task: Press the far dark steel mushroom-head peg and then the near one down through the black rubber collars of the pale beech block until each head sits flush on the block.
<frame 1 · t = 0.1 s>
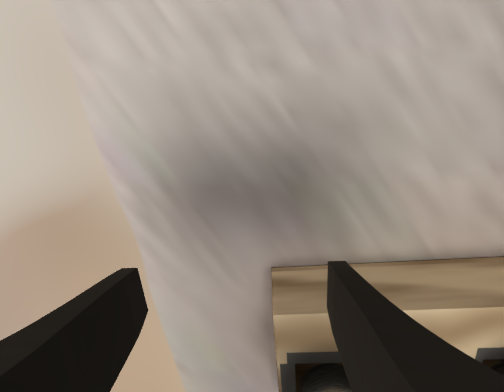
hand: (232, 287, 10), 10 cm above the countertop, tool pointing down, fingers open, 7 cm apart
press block: (388, 327, 23), on the countertop
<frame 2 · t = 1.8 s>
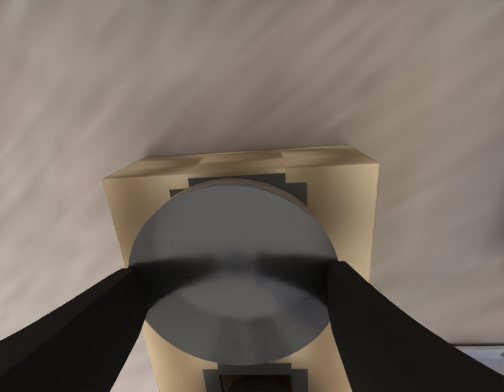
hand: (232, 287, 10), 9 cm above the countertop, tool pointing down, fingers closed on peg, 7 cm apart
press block: (254, 276, 21), on the countertop
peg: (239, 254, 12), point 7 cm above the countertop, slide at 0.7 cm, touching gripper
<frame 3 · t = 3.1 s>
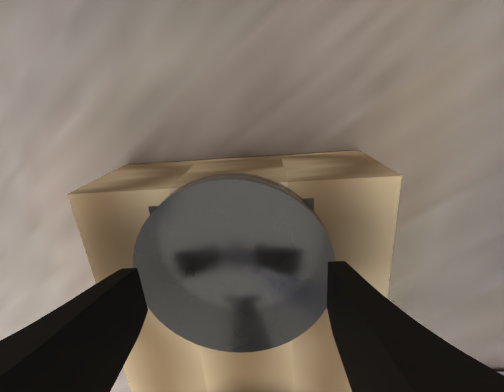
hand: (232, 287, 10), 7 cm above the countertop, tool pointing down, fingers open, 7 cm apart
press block: (251, 296, 18), on the countertop
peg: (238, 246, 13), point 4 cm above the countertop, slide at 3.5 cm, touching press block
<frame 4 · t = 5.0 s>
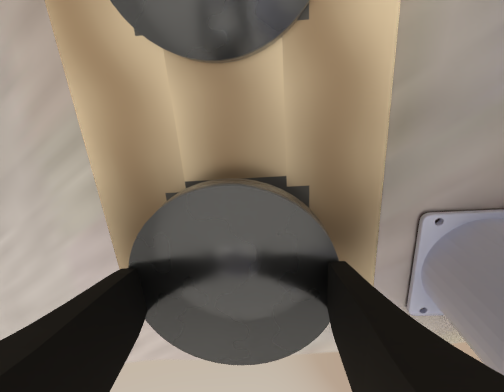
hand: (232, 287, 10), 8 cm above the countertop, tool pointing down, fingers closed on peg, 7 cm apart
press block: (239, 110, 16), on the countertop
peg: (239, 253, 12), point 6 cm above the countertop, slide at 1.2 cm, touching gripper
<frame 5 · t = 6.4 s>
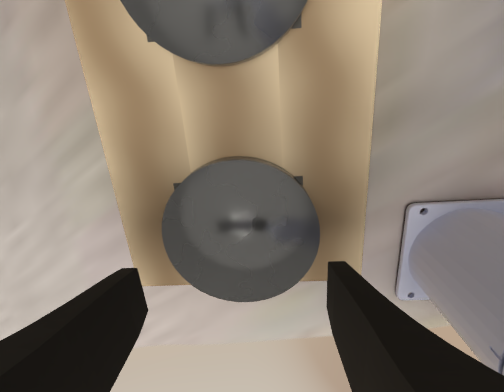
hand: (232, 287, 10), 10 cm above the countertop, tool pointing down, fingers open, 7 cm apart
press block: (239, 108, 17), on the countertop
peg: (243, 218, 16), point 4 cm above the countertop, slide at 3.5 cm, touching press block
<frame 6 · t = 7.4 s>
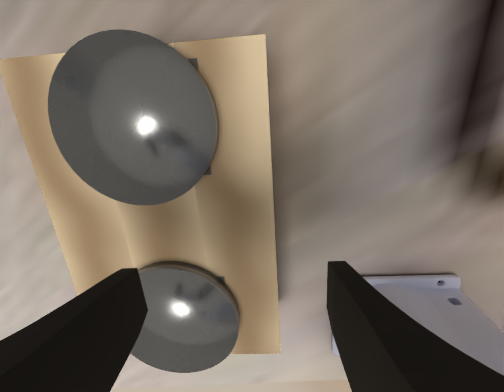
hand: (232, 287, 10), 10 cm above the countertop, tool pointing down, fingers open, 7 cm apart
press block: (186, 200, 21), on the countertop
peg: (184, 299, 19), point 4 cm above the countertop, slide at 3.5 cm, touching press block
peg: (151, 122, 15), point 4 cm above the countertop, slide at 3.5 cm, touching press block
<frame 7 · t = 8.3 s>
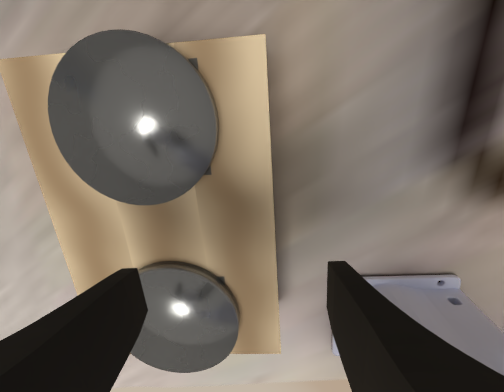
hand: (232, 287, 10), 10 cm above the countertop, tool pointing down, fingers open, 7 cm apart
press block: (186, 200, 21), on the countertop
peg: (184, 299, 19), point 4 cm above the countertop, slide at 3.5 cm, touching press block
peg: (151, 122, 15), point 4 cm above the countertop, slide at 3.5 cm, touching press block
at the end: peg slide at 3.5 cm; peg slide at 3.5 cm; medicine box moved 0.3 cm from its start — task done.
